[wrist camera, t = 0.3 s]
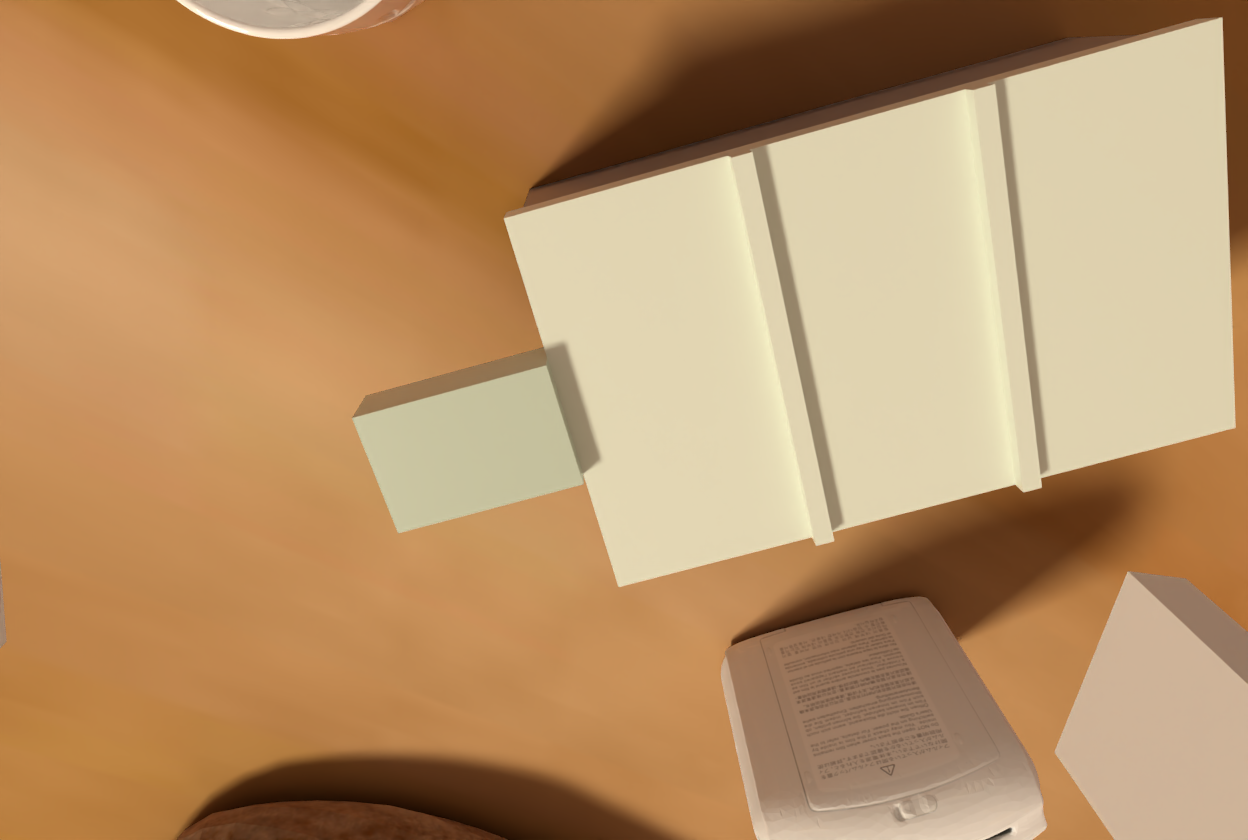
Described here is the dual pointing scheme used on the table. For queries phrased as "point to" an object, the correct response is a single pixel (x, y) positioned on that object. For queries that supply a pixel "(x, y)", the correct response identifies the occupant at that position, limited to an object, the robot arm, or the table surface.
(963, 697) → the photo printer
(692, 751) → the table surface
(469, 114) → the table surface
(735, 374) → the lid
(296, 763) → the table surface
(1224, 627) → the robot arm
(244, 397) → the table surface
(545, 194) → the tub
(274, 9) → the white cup
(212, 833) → the bread
